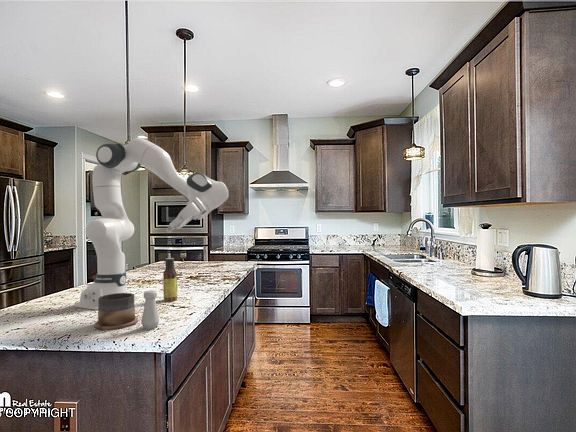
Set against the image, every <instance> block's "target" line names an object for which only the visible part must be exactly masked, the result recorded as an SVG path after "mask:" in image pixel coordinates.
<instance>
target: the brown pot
mask: <svg viewBox="0 0 576 432" xmlns="http://www.w3.org/2000/svg"><path fill="white" fill-rule="evenodd" d="M138 322H139V319H138V317H137V316H136V305H135V294H134V293H131V292H127V293H115V294H109V295H105V296H101V297H100V298H99V299H98V310H97V321H96V322H95V323H94V329H96V330H99V331H113V330H114V331H115V330H122V329H124V328H125V329H127V328H130V327H132V326H135V325H136V324H137V323H138Z"/></svg>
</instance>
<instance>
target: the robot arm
mask: <svg viewBox="0 0 576 432" xmlns="http://www.w3.org/2000/svg"><path fill="white" fill-rule="evenodd" d="M95 157H96V160H97V162H98V164H97V165H95V166H94V167H93V168H92V169H93V170H92V180H91V181H92V193H93V194H92V195H93V203H94V207H95V208H96V209H97V210H98V211H99V213H100V214H101V217H100V218H97V219H94V220H91V221H90V222H89V223H88V224H87V225H86V227H85V229H84V230H85V232H84V233H85V236H86V238H87V239H88V240H89V241H91V243H92V245H93V247H94V250H95V253H96V262H97V266H96V267H97V273H96V274H95V275H92V276H91V277H92V279H94V280H93V283H91V284H90V285H88V286H87V288H85V289H83V290H82V292H80V297H79V301H77V302H75V303H73V307H74V308H79V309H80V308H82V309H87V310H96V311H98V299H99V298H100V297H101V296H105V295H109V294H115V293H128V292H127V285H126V282H127V272H126V255H125V253H124V252H123V251H122V250H121V247H120V246H121V245H120V242H124V241H126V240H129V239H130V238H132V236H133V235H134V234H135V226H134V223H133V222H132V221H131V220H130V219H129V218H128V215H127V213H126V209H125V206H124V203H123V197H122V190H121V189H122V188H121V182H120V181H121V180H120V178H121V175H123V176H126V175H128V174H131V173H133V172H136V171H138V170H140V168H141V167H142V166H143V168H146V169H147V170H149V171H150V172H151V173H153V174H154V175H156V176H157V177H158V178H160V179H161V180H162V181H163V182H164V183H165V184H167V185H168V186H169V187H170V188H171V189H174V191H176V192H177V193H178V194H179V195H181V196H182V197H184V199H186V201H187V202H186V206H185V207H184V208H182V209H181V210H180V212H179V213H178V215H177V216H176V217H175V219H174V220H172V221H170V223H169V226H168V227H167V228H166V230H165V231H167V233H171V232H172V231H174V230H175V229H177V230H180V229H181V228H183V227H185V225H187V224H188V223H189V222H191V221H192V220H194V221H195V220H196V219H197V220H198V221H199V220H200V221H201V220H202V219H203V218H205V217H206V216H207V215H209V214H210V213H211V212H212V211H213V210H215V209H217V208H218V207H220V206H221V205H223V204H224V203H225V202H226V201H227V200H228V198H229V194H230V192H229V188H228V187H227V185H226V183H224V182H223V181H216V180H214V179H211V178H210V177H209V176H207V175H206V174H204V173H202V172H194V173H192V174H190V175H188V176H187V178H186V180H185V179H184V178H182V176H181V175H180V174H179V172H178V171H177V170H176V168H175V166H174V163H173V161H172V158H171V156H170V154H169V153H168V152H166V150H164V149H163V148H162V147H160V146H159V145H157V144H156V143H153V142H151V141H149V140H147V139H144V138H141V137H134V138H132V139H131V140H130V141H129V142H128V143H127V144H126V145H123V144H122V143H104V144H101V145H100V146H98V148H97V150H96V151H95Z"/></svg>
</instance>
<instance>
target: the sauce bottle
mask: <svg viewBox="0 0 576 432" xmlns="http://www.w3.org/2000/svg"><path fill="white" fill-rule="evenodd" d="M164 262H165V269H164V271H163V272H162V275H163V276H162V278H163V279H162V283H163V285H162V287H163V289H162V291H163V301H164V302H174V301H176V300H178V274H177V271H176V268H175V258H174V257H167V258H165V260H164Z"/></svg>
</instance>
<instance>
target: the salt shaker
mask: <svg viewBox="0 0 576 432" xmlns="http://www.w3.org/2000/svg"><path fill="white" fill-rule="evenodd" d="M157 296H158V292H157V291H156V290H152V289H151V290H146V291H144V292H143V298H144V299H145V301H144V307H143V311H142V316H141V321H140V322H141V323H140V324H141V325H142V327H143V330H147V331H151V330H155V329H156V328H157V327H158V325H159V323H160V317H159V312H158V307H157V302H156V298H157Z"/></svg>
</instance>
